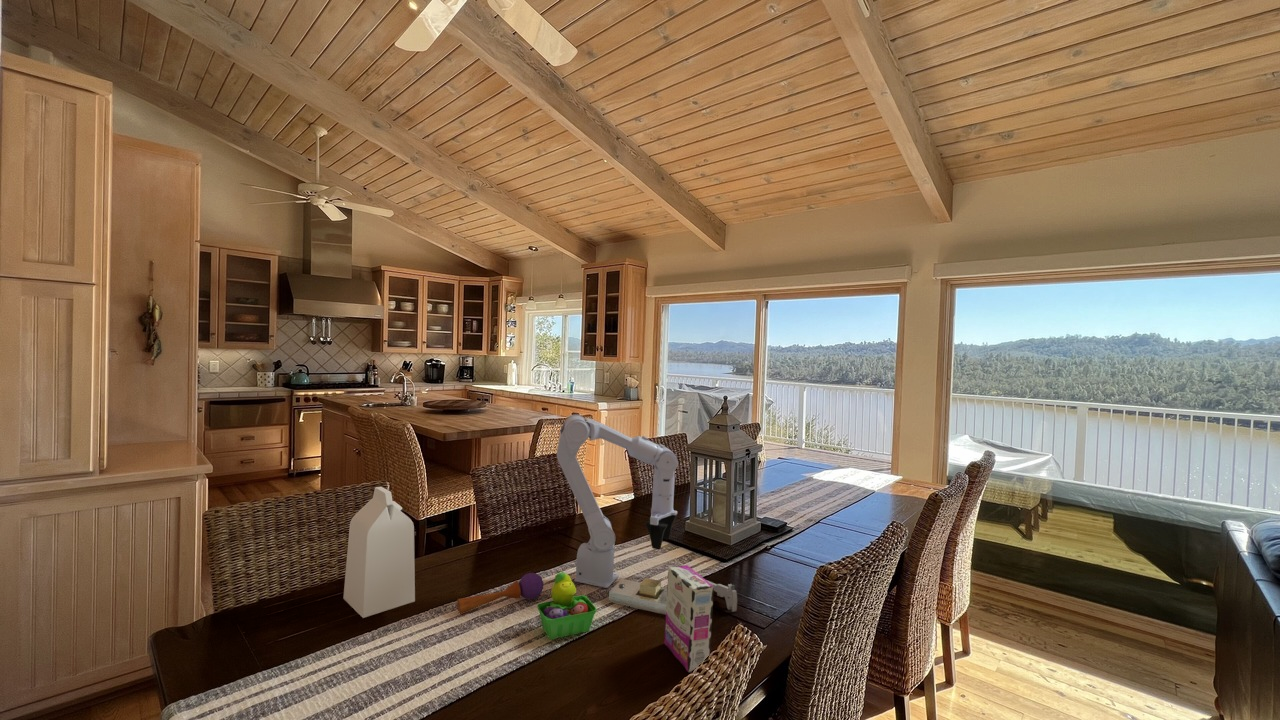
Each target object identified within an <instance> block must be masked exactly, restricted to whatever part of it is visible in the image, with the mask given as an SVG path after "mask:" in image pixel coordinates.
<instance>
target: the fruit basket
mask: <svg viewBox="0 0 1280 720" xmlns="http://www.w3.org/2000/svg"><path fill="white" fill-rule="evenodd" d="M576 593H577V588H576V586H575V583H574V582H573V581H572V578H571V577H570V575H569V574H567V573H565V572H564V571H561V572H558V573H557V574H555V577H554V583H553V585H552V587H551V593H550V595H551V598H552V600H550V601H545V602H541V603H538V604H537V610H538V612H539V616H540V621H541V626H542V629H543V630H544V632H545V634H546V635H547V637H548V639H549V640H554V639H555V640H556V639H558V638H564V636H565V637H567V636H573V635H577V634H581V633H586V632H589V631H590V629H591V626H592V623H593V619H594V616H595V615H596V612H597V610H598V609H597V607H596V606H595V605H594V604H593V602H592V601H591V600H590V599H589V598H588V596H587V595H583V594H581V595H576V596H574V595H575V594H576Z"/></svg>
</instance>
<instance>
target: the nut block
mask: <svg viewBox="0 0 1280 720" xmlns="http://www.w3.org/2000/svg"><path fill="white" fill-rule="evenodd" d="M640 583H641V584H640V594H639V596H643V597H648V598H652V599H658V598H659V596H660V588H661V587H662V586H661V585H662V584H661V583H662V581H661V580H659V579H653V578H649V577H648V578H647V577H645V578H644V579H643V580H642V581H641V582H640Z"/></svg>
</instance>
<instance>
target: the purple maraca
mask: <svg viewBox="0 0 1280 720" xmlns="http://www.w3.org/2000/svg"><path fill="white" fill-rule="evenodd" d="M543 591H544V581H543V578H542V576H540V575H539V573H538V574H537V573H535V572H529V573H525V574H524V575H523V576H521V578H520V579H519V582H518V580H515V581H514V582H513V583H512V584H510V585H509V586H508V587H507V588H505V589H504V590H502V591H498V592H493V593H487V594H480V595H479V594H478V595H474V596H467V597H462V598H457V599H456V600H457V601H456V605H457V612H458V611H459V612H458V613H460V614H459V615H462V614H465V613H467V612H470V611H471V610H474V609H477V608H479V607H482V606H485V605H486V604H489V603H491V602H494V601H496V600H499V599H501V598H503V597H505V598H512V599H518V600H520V599H521V597H522V598H523V599H525V600H530V601H531V600H535V599H537V598H538V597H540V596H541V594H542V592H543Z"/></svg>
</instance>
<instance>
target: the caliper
mask: <svg viewBox="0 0 1280 720" xmlns="http://www.w3.org/2000/svg"><path fill="white" fill-rule="evenodd" d="M705 580H706V581H708V582H709V583H710V584H711V585H713V586H714V591H713V592H715V593H716V596H717V597H720V598H724V600H725V603H726V608H727V610H729V611H730V610H731V613H735V612H737V608H738V592H737V590H735V584H732V583H730V584H729V583H728V584H727V585H723V584H721V583H714V582H713V581H710V580H707V579H705Z"/></svg>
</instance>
